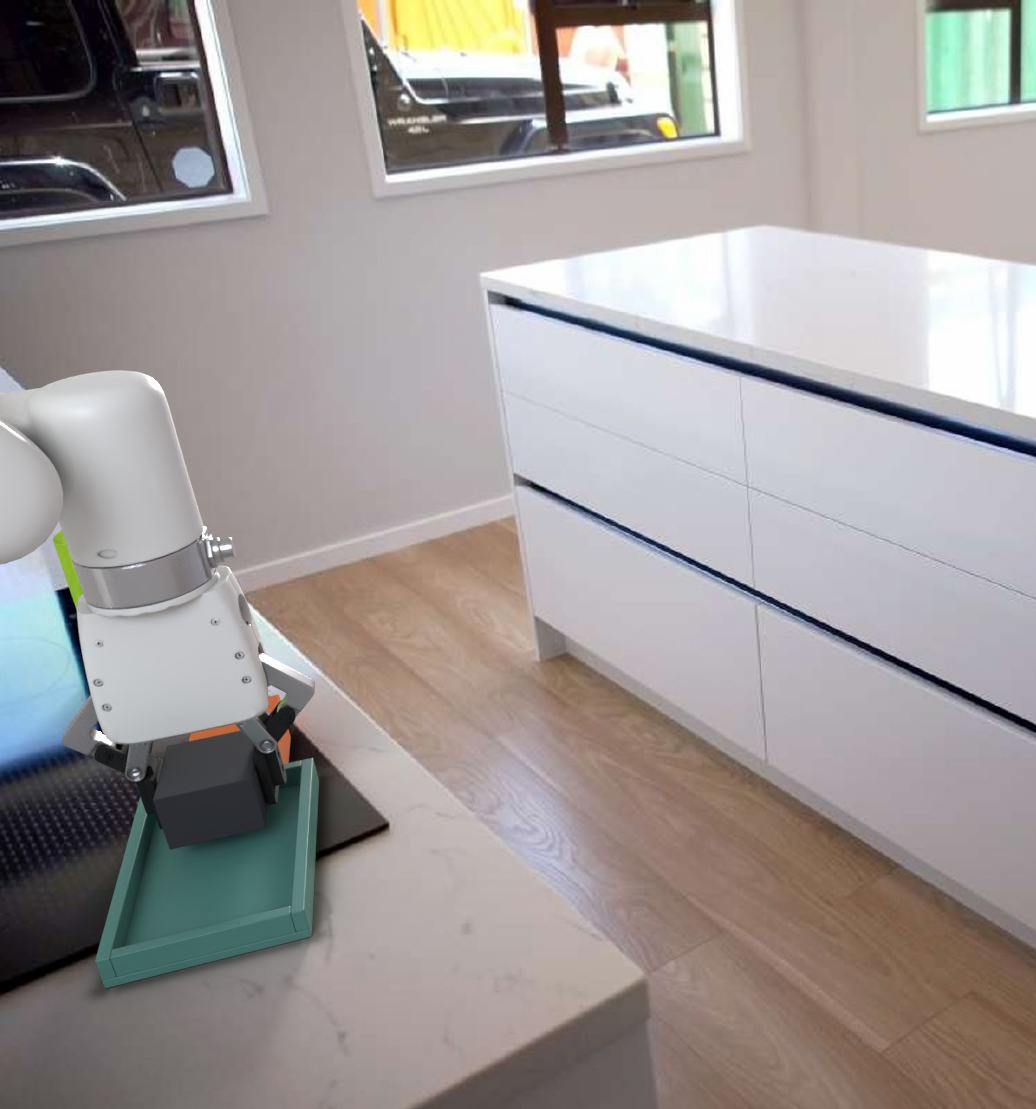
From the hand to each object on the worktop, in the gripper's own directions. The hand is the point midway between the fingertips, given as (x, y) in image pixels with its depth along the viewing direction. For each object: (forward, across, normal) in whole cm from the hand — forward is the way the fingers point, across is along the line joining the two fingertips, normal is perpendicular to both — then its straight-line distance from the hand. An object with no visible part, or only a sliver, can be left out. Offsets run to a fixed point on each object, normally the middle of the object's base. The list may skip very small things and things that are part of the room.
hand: (221, 803), depth 87 cm
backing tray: (+3, 0, +4) cm, 5 cm away
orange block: (+3, 0, -9) cm, 9 cm away
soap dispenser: (+3, +11, -31) cm, 33 cm away
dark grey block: (+1, 0, 0) cm, 1 cm away
